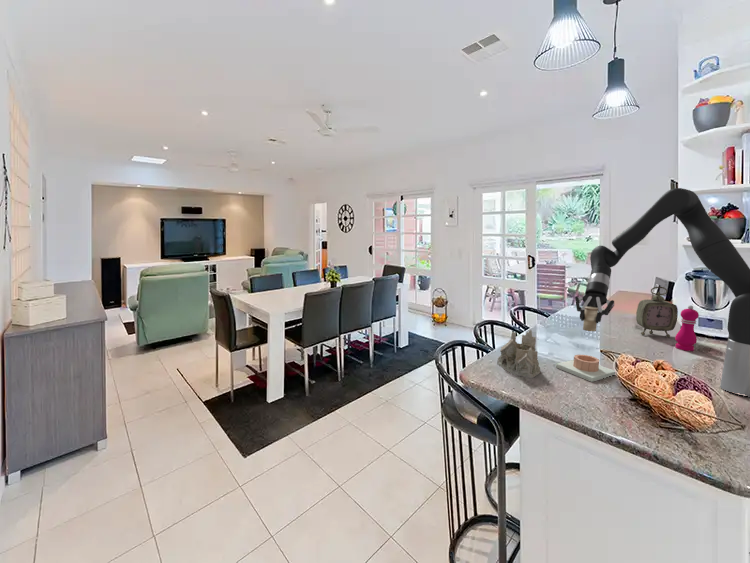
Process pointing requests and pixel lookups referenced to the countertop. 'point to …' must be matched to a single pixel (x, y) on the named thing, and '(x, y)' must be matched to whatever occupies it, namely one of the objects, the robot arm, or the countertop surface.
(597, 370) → the flat grey base plate
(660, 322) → the tabletop clock
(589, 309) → the birch plug
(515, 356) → the grey-brown toy castle
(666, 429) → the countertop surface
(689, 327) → the pepper mill
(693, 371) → the countertop surface
